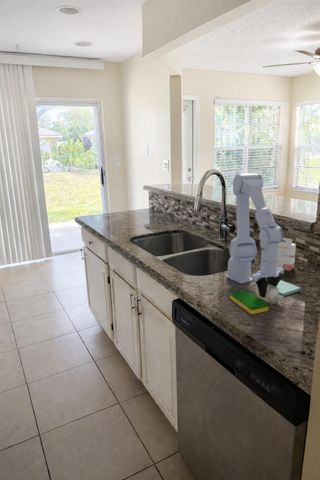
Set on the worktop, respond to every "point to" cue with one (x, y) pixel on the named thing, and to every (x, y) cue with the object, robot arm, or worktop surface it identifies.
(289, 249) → the ink cartridge box
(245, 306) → the dish sponge
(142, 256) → the worktop surface
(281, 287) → the teal mat
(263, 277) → the robot arm
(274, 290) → the white rounded piece
